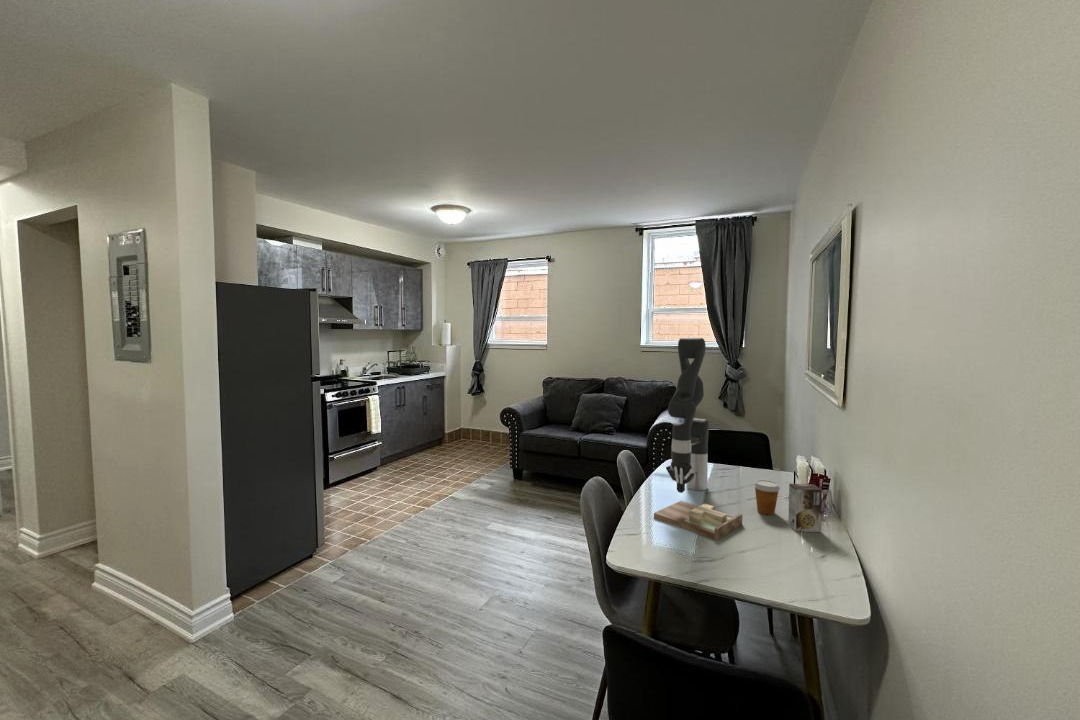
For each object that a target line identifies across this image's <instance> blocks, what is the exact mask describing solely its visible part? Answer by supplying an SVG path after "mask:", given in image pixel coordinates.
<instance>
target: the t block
mask: <svg viewBox="0 0 1080 720" xmlns="http://www.w3.org/2000/svg"><path fill="white" fill-rule="evenodd" d="M698 506H699V507H697V508H695V509H692V510H690V511H689V520H690V521H693V522H696V523H701V522H702V521H707V522H710V523H713V524H716V525H721V524H723V523H724V522H726V521H727V515H728V513H724V512H721V511H718V510H715V509H716V508H715V506H714V505H712V504H708V503H703V504H701V505H698Z"/></svg>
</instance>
